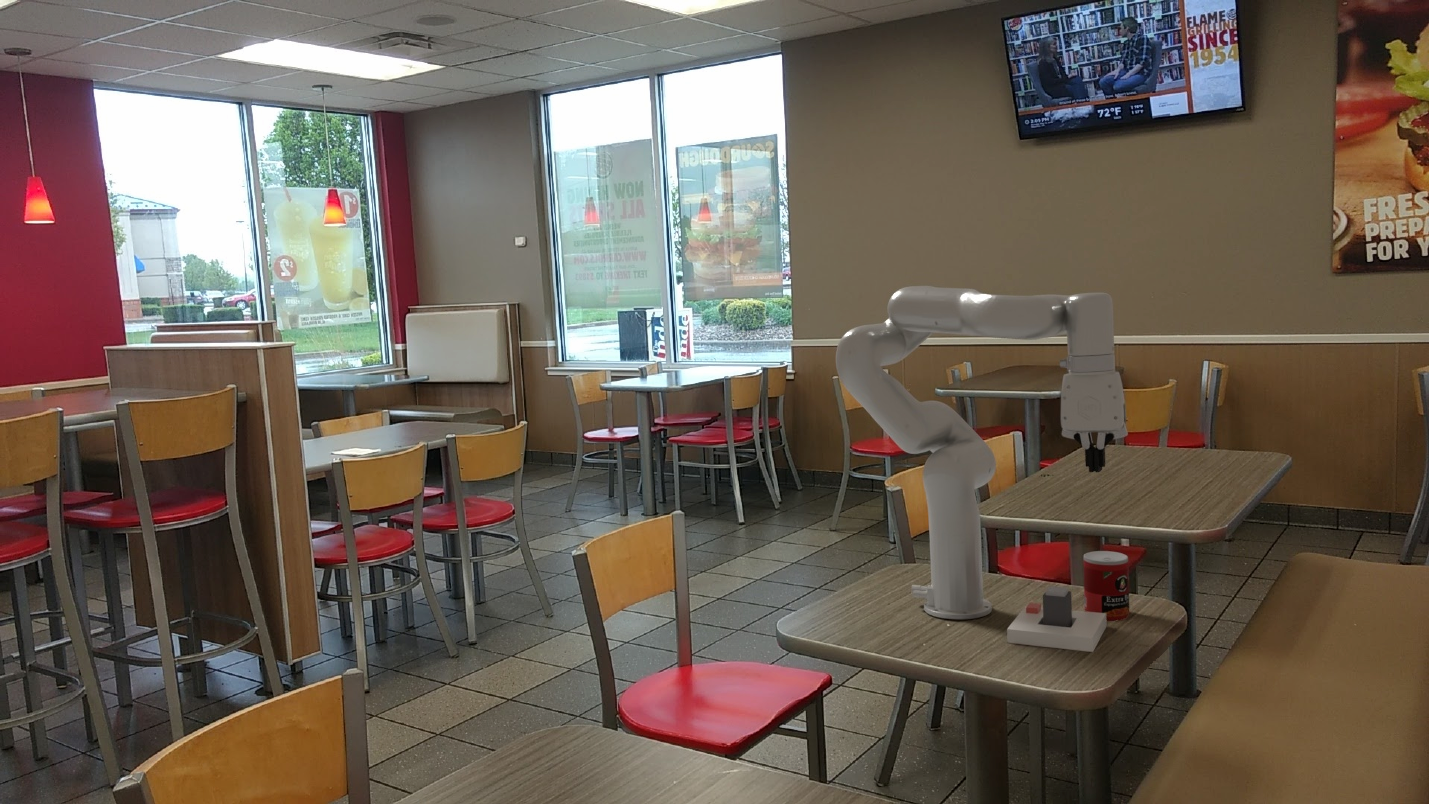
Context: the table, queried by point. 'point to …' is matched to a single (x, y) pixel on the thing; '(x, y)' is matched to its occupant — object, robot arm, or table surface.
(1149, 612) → the table surface
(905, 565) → the table surface
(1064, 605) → the plug
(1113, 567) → the canned food
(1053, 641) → the socket plate
